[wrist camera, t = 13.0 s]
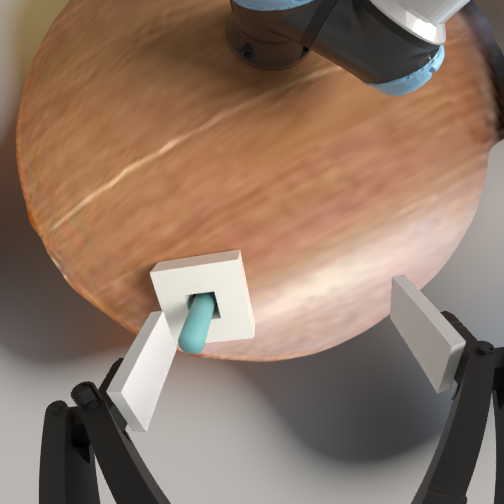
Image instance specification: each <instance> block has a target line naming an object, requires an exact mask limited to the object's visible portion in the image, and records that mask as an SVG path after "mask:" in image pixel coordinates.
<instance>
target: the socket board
mask: <svg viewBox="0 0 504 504" xmlns="http://www.w3.org/2000/svg"><path fill="white" fill-rule="evenodd" d="M150 275H151V279H152V282H153V285H154V288H155V291H156V294H157V297H158V300H159V303H160V306H161V309H162V311H163V312H164V315H165V318H166V321H167V324H168V326H169V329H170V332H171V335H172V337H173V340H174V343H175V345H178V338H179V335H180V333H181V330H182V328H183V325H184V323H185V320H186V318H187V315H188V313H189V310H190V308H191V306H192V303H193V301H194V296H193V294H198V293H206V292H213V291H214V292H215V296H216V300H217V304H218V306H215V307H214V311H213V314H212V318H211V322H210V326H209V329H208V333H207V337H206V341H205V343H209V342H220V341H230V340H239V339H248V338H254V328H255V323H254V318H253V313H252V308H251V303H250V298H249V293H248V288H247V283H246V277H245V272H244V267H243V262H242V257H241V252H240V249H239V250H232V251H226V252H219V253H213V254H206V255H200V256H194V257H187V258H181V259H174V260H168V261H162V262H158V263H157V264H156V265H155V267H154V268H153V269H152V270H151V271H150Z"/></svg>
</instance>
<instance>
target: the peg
mask: <svg viewBox="0 0 504 504" xmlns="http://www.w3.org/2000/svg"><path fill="white" fill-rule="evenodd" d="M215 303H216V296H215V292H214V291H213V292H206V293H198V294H196V296H195V298H194V301H193V303H192V306H191V308H190V310H189V313H188V315H187V318H186V320H185V323H184V325H183V328H182V330H181V333H180V335H179V338H178V345H179V347H180V348H181V349H182V350H183V351H185V352H187V353H190V354H196V353H199V352H201V351H202V350H203V348H204V345H205V341H206V337H207V333H208V329H209V326H210V322H211V318H212V314H213V311H214V307H215Z"/></svg>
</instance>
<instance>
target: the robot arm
mask: <svg viewBox="0 0 504 504" xmlns="http://www.w3.org/2000/svg"><path fill="white" fill-rule="evenodd" d="M469 1H470V0H230V4H231V8H232V14H231V15H230V17H229V19H228V22H227V27H226V34H227V39H228V42H229V45H230V47H231V49H232V51H233V52H234V54H235V55H236V56H237V57H238V58H239V59H241V60H242V61H243V62H245V63H247V64H248V65H250V66H253V67H256V68H259V69H264V70H282V69H286V68H290V67H292V66H295V65H297V64H298V63H300V62H301V61H303V60H304V59H305V58H306V57H307V56H308V54H309V53H310V51H311V50H312V51H314V52H316V53H317V54H319V55H321V56H323V57H325V58H326V59H328V60H330V61H332V62H333V63H335V64H337V65H338V66H340V67H342V68H343V69H345V70H347V71H348V72H350V73H351V74H353V75H355V76H356V77H358V78H359V79H360V80H361V81H362V82H364V83H366V84H367V85H370V86H373V87H374V88H376V89H377V90H379V91H381V92H382V93H384V94H386V95H389V96H401V95H405V94H408V93H410V92H412V91H414V90H416V89H418V88H419V87H421V86H422V85H423V84H425V83H426V82H427V81H428V80H429V79H430V78H431V74H432V73H433V72H436V71H437V70H438V68H439V67H440V65H441V63H442V61H443V59H444V47H443V45H442V44H443V43H444V41H445V40H446V31H445V25H444V24H445V22H446V21H447V20H448V19H449V18H451V17H452V16H453V15H454V14H455V13H456V12H457V11H458V10H459V9H461V8H462V7H463V6H464V5H465V4H466V3H467V2H469ZM390 319H391V320H392V322H393V323H394V325H395V326H396V328H397V329H398V331H399V332H400V334H401V335H402V337H403V338H404V340H405V341H406V343H407V345H408V346H409V348H410V349H411V351H412V352H413V354H414V356H415V357H416V359H417V360H418V362H419V363H420V365H421V367H422V368H423V370H424V372H425V373H426V375H427V377H428V378H429V380H430V382H431V383H432V385H433V387H434V388H435V390H436V392H437V393H440V392H442V391H445V390H447V389H450V388H451V386H452V384H453V381H454V379H455V381H456V382H457V384H458V385H457V388H456V391H455V393H454V396H453V398H452V400H453V402H452V405H451V409H450V412H449V415H448V418H447V421H446V424H445V427H444V430H443V433H442V436H441V438H440V441H439V444H438V446H437V449H436V451H435V454H434V456H433V459H432V461H431V463H430V466H429V468H428V470H427V472H426V475H425V477H424V479H423V481H422V483H421V485H420V487H419V489H418V491H417V493H416V495H415V497H414V499H413V501H412V502H411V504H466V503H467V497H466V492H467V489H468V486H469V483H470V480H471V478H472V475H473V472H474V468H475V465H476V461H477V458H478V455H479V451H480V447H481V444H482V440H483V435H484V431H485V426H486V422H487V417H488V412H489V406H490V400H491V393H492V396H493V405H494V415H495V429H496V483H495V497H494V504H504V347H500V348H494V346H493V345H492V344H490V343H489V342H486V341H477V339H476V338H475V337H474V336H473V335H472V334H471V333H470V332H469V331H468V330H467V328H466V327H464V326H463V324H462V323H461V322H459V320H458V319H457V318H456V317H455V316H454V315H453V314H451V313H449V312H447V311H443V312H439V311H438V310H437V309H436V308H435V307H434V305H432V303H431V302H430V301H429V300H428V299H427V298H426V297H425V296H424V295H423V294H422V293H421V292H420V291H419V290H418V289H417V288H416V287H415V286H414V285H413V284H412V283H411V282H410V281H409V280H408V279H407V278H406V277H405V276H404V275H400V276H395V277H392V292H391V309H390ZM176 349H177V348H176V345H175V343H174V340H173V337H172V335H171V332H170V329H169V326H168V324H167V321H166V318H165V315H164V312H163V311H157V312H151V313H150V315H149V317H148V318H147V320H146V322H145V324H144V325H143V327H142V329H141V330H140V332H139V334H138V335H137V337H136V339H135V341H134V343H133V344H132V346H131V348H130V349H129V351H128V353H127V355H126V357H125V358H119V360H117V361H116V362H115V363H114V364H113V365H112V367H111V369H110V370H109V372H108V374H107V375H106V378H105V379H104V381H103V383H102V384H101V386H100V388H99V390H98V389H97V388H96V386H95V384H94V383H92V382H89V381H88V382H82V383H80V384H78V385H76V386H75V387H74V388H73V390H72V392H71V397H72V399H73V400H74V402H75V403H76V404H77V406H75V407H68V406H67V404H66V403H65V402H64V401H61V400H60V401H55V402H53V403H51V404H50V405H49V406H48V407H47V409H46V412H45V418H44V426H43V435H42V445H41V456H40V473H39V504H100V498H99V492H98V485H97V476H96V467H95V456H96V458H97V461H98V463H99V466H100V468H101V470H102V473H103V475H104V478H105V480H106V482H107V484H108V486H109V489H110V491H111V493H112V495H113V497H114V499H115V501H116V503H117V504H171V503H170V502H169V500H168V499H167V497H166V496H165V495H164V493H163V492H162V490H161V489H160V487H159V486H158V484H157V483H156V481H155V480H154V478H153V476H152V475H151V473H150V472H149V470H148V468H147V467H146V465H145V463H144V462H143V460H142V458H141V457H140V455H139V453H138V452H137V449H136V448H135V446H134V444H133V442H132V440H131V439H130V437H129V435H128V433H127V432H126V430H125V427H126V425H127V424H128V425H129V427H130V428H131V429H132V431H139V432H147V430H148V427H149V424H150V421H151V418H152V415H153V412H154V409H155V407H156V404H157V401H158V398H159V395H160V393H161V390H162V387H163V384H164V381H165V379H166V376H167V373H168V370H169V368H170V365H171V362H172V359H173V357H174V354H175V352H176ZM94 453H95V456H94Z"/></svg>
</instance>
